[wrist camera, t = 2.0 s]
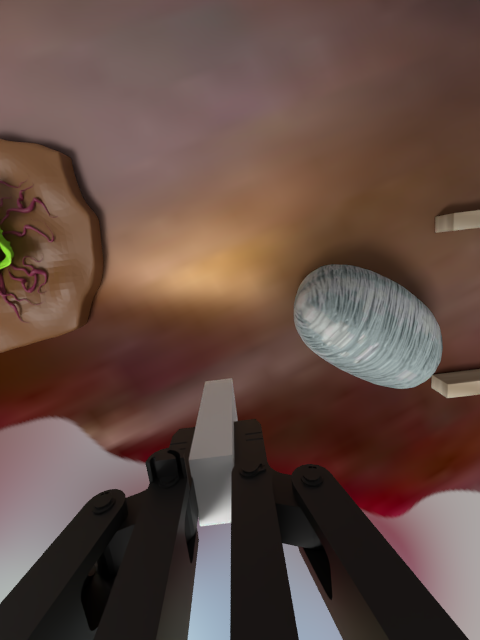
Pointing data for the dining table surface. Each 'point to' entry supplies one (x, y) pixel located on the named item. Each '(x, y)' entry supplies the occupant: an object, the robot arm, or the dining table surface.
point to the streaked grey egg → (368, 326)
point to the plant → (44, 246)
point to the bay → (462, 380)
